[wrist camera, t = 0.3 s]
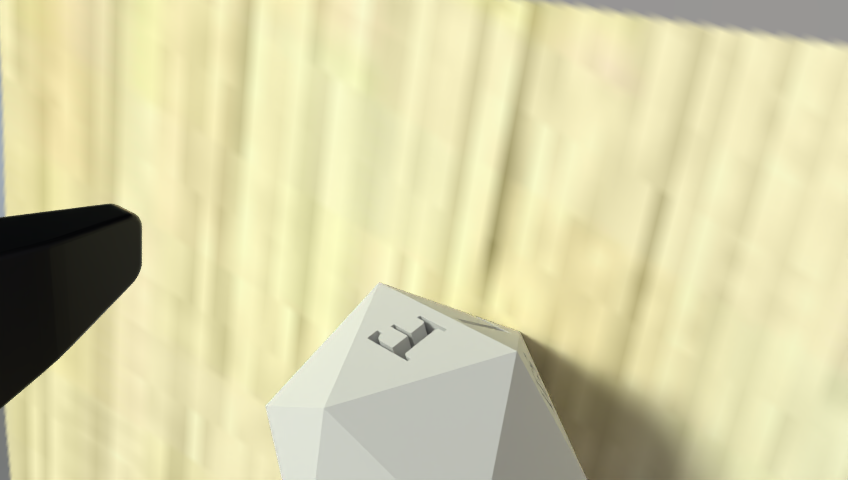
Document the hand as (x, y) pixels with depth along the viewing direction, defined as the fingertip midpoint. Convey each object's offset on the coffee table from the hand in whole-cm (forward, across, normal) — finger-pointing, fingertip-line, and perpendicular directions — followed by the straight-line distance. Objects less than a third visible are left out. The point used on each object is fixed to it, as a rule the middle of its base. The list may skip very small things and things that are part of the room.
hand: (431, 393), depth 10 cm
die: (+13, +2, +12) cm, 18 cm away
